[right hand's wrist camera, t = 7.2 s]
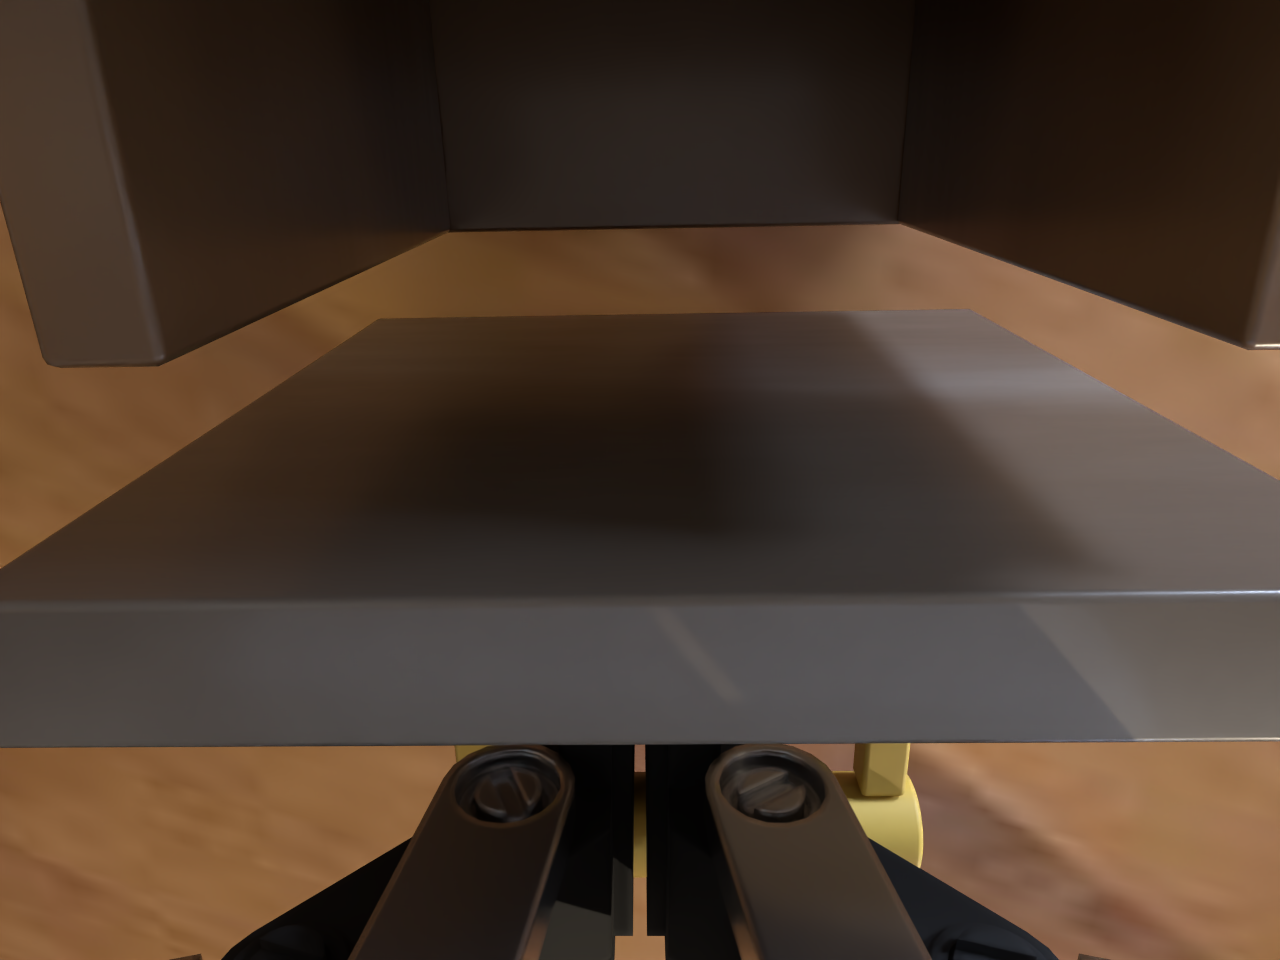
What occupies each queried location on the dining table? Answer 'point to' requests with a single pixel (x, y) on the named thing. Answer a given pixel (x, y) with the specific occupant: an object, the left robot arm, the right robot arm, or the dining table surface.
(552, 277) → the dining table surface
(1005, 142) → the drawer
